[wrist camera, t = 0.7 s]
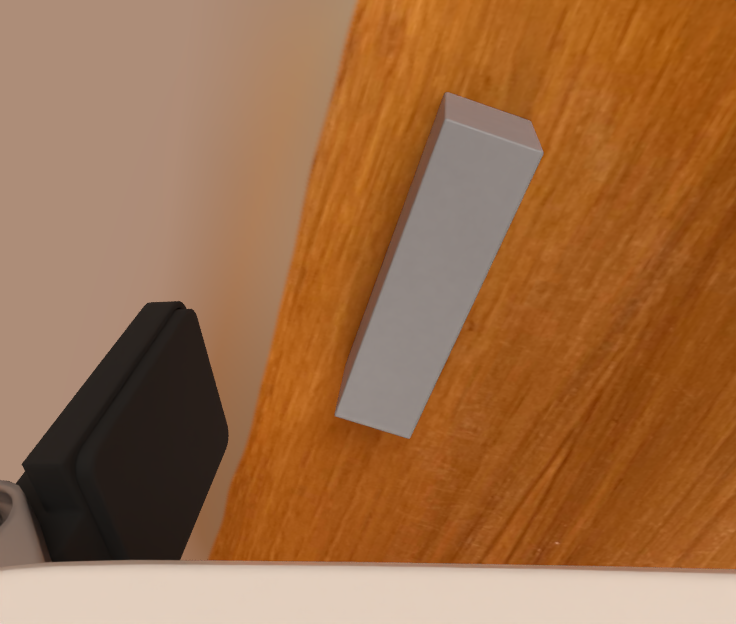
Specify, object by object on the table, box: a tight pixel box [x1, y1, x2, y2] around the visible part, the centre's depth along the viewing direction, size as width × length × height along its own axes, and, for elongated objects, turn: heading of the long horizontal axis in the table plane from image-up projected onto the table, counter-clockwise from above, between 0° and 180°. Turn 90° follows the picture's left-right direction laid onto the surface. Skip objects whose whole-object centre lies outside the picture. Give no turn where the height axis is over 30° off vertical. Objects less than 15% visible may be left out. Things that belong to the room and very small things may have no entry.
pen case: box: [335, 92, 543, 439], centre depth 27 cm, size 14×4×4 cm, turn 163°
